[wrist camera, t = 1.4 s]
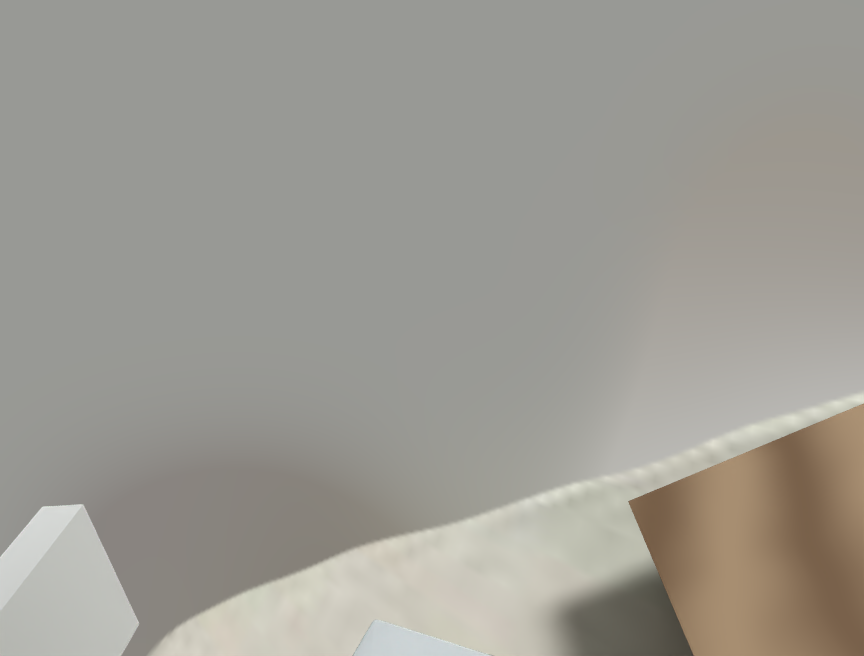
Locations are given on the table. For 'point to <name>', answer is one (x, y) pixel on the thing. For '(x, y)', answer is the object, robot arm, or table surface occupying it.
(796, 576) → the shelf
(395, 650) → the supplement box
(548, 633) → the table surface
